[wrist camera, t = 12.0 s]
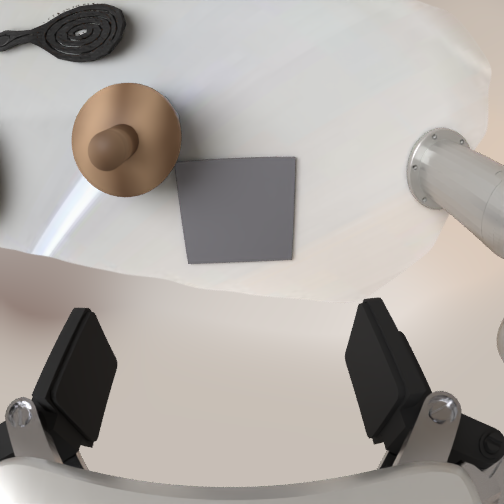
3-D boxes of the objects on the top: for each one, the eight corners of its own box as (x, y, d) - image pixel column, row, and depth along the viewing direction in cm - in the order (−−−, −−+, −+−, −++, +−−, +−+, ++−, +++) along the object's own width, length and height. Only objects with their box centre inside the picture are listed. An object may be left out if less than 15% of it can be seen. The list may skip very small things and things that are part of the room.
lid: (176, 73, 27) (164, 72, 22) (187, 188, 33) (178, 208, 29) (69, 96, 26) (43, 102, 22) (87, 199, 33) (66, 218, 29)
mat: (294, 156, 37) (295, 157, 37) (291, 257, 45) (291, 259, 44) (175, 162, 37) (174, 163, 36) (188, 262, 44) (188, 263, 44)
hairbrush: (-12, 19, 19) (128, -3, 22) (3, 19, 22) (139, 4, 25) (-22, 70, 23) (110, 62, 26) (-6, 67, 26) (123, 63, 29)
